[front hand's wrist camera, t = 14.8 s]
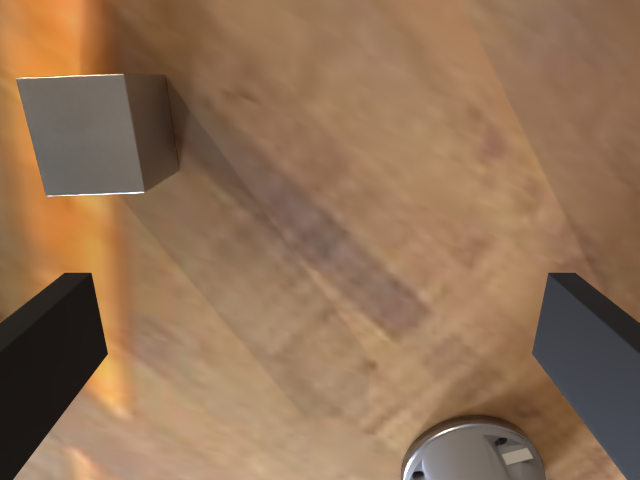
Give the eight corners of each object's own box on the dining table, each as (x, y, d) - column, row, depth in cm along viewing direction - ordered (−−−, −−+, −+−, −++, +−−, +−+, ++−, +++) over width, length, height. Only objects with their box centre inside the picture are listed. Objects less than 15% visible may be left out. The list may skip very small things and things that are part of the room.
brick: (165, 75, 36) (123, 73, 28) (179, 170, 38) (145, 193, 31) (79, 78, 36) (15, 77, 28) (99, 173, 39) (45, 196, 31)
